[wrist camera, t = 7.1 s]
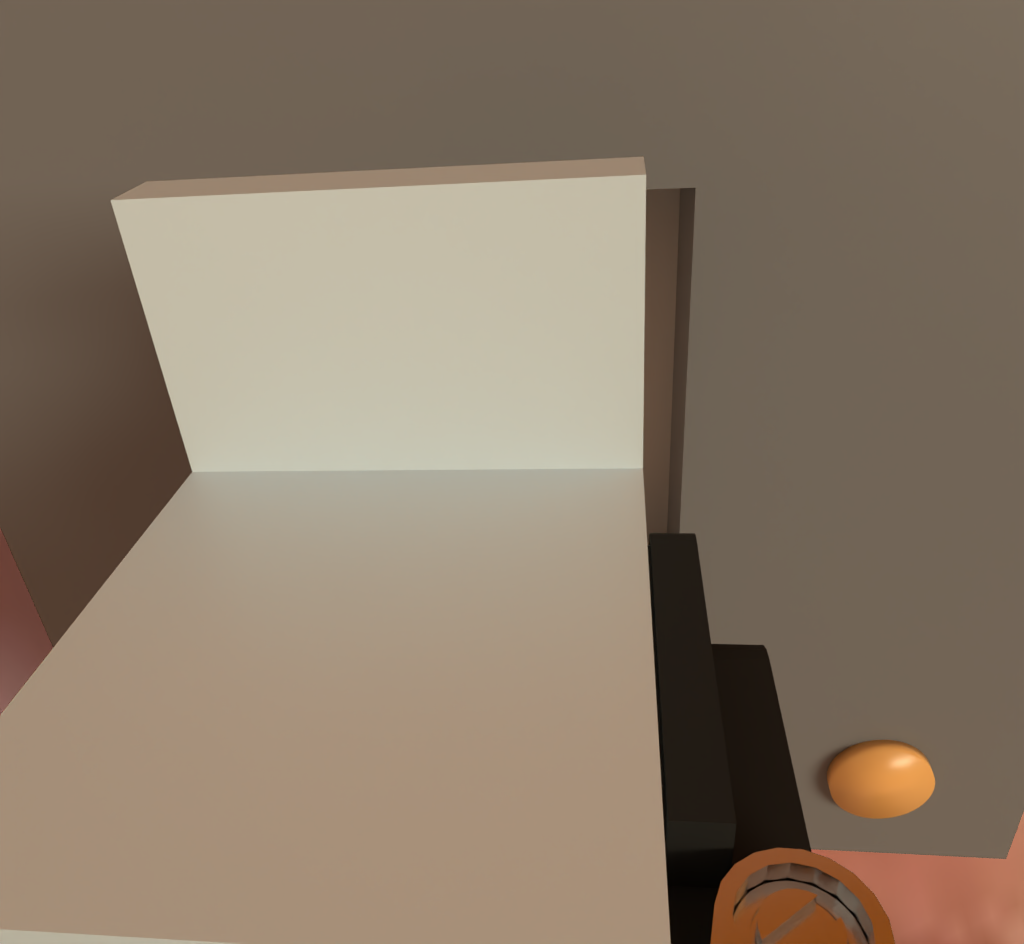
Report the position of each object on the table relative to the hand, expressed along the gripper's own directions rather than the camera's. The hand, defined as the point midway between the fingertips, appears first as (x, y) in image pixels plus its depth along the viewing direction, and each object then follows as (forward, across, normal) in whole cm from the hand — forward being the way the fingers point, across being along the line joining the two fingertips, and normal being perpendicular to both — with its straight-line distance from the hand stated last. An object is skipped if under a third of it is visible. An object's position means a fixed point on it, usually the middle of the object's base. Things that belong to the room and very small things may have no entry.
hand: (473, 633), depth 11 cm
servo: (+2, 0, 0) cm, 2 cm away
